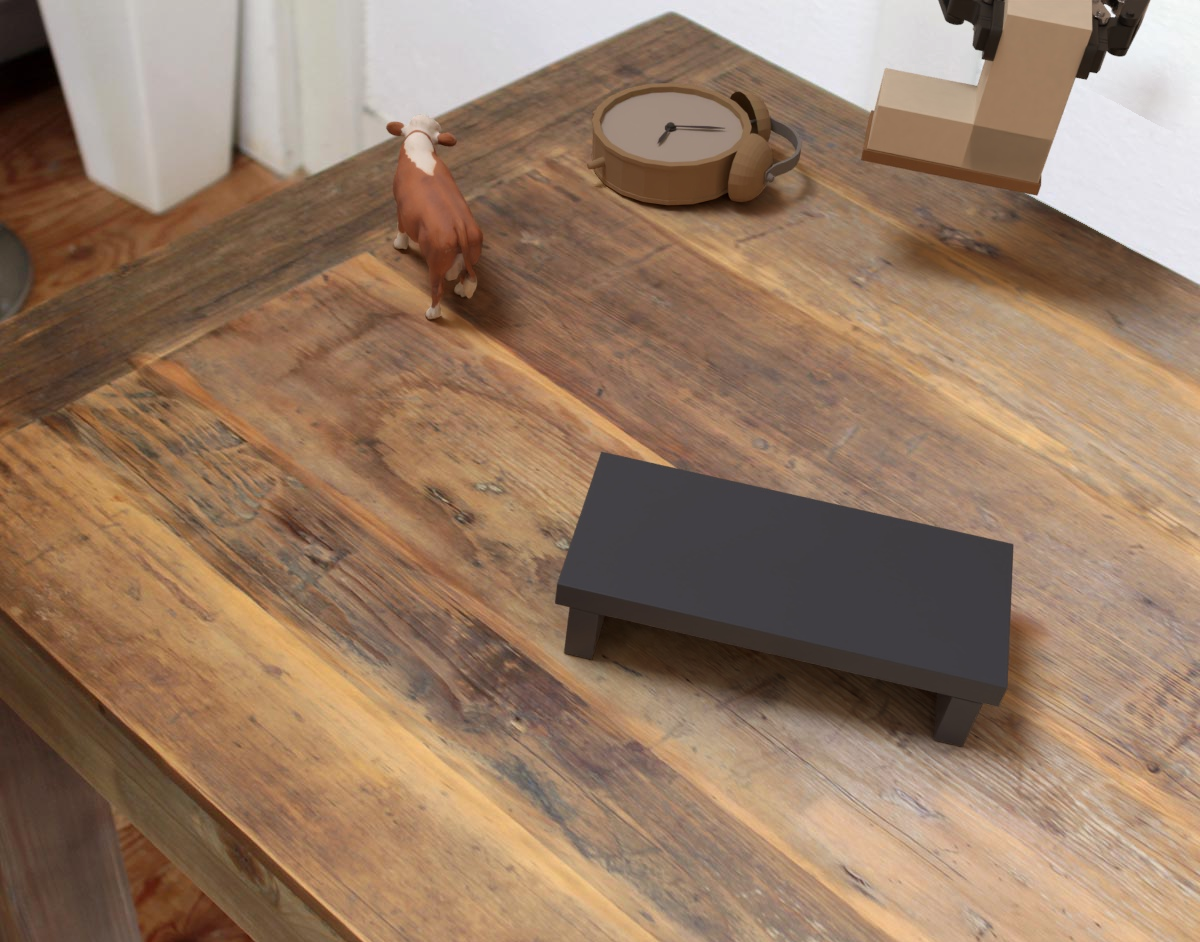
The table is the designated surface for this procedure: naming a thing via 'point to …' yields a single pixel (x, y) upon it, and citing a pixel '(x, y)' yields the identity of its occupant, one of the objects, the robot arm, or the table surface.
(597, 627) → the dark grey low platform
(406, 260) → the table surface
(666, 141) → the alarm clock
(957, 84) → the boot
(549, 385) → the table surface
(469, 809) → the table surface
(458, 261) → the bull figurine
